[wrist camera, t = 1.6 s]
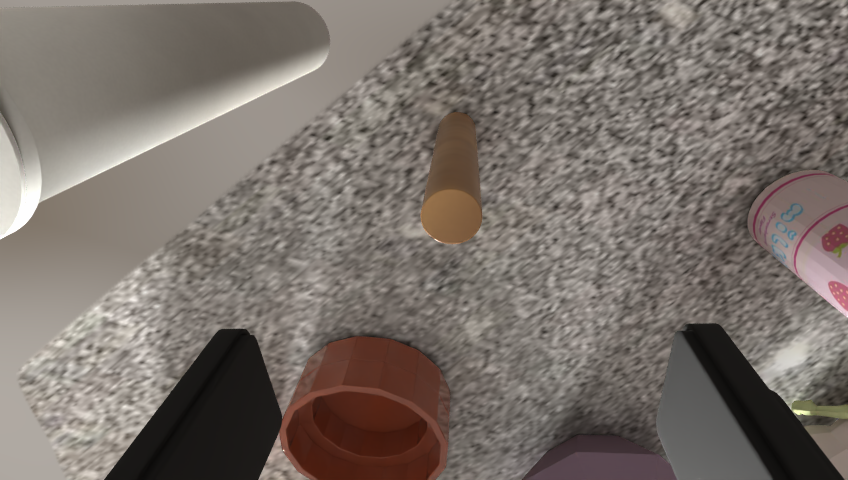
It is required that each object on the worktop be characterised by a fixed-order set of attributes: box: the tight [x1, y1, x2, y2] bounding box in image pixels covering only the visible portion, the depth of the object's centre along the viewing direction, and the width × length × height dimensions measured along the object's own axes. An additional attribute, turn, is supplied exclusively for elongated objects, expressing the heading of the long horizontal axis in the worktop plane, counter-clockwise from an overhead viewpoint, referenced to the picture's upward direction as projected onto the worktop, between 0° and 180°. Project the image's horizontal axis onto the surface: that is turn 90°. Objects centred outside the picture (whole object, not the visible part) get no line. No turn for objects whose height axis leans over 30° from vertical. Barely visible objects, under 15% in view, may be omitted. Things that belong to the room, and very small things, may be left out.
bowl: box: [279, 336, 450, 480], centre depth 38 cm, size 13×13×6 cm
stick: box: [421, 112, 482, 244], centre depth 23 cm, size 2×2×13 cm
